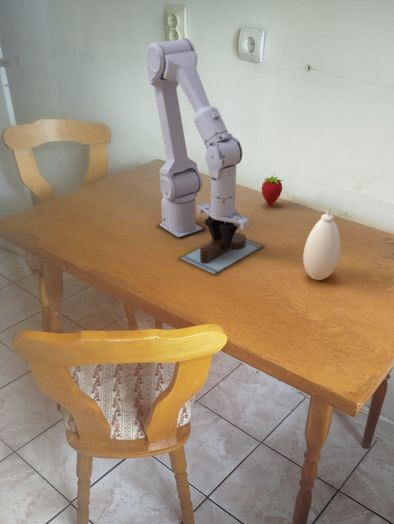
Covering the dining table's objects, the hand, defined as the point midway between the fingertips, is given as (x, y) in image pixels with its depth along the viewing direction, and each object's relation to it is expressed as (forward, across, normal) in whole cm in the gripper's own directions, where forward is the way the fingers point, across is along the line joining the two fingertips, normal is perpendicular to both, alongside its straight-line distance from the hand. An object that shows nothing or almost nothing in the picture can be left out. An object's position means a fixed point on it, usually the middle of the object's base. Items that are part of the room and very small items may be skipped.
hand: (221, 246), depth 125 cm
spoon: (+1, 0, 0) cm, 1 cm away
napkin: (+2, 0, 0) cm, 2 cm away
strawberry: (+2, +8, -31) cm, 32 cm away
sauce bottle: (+2, -24, -6) cm, 25 cm away
